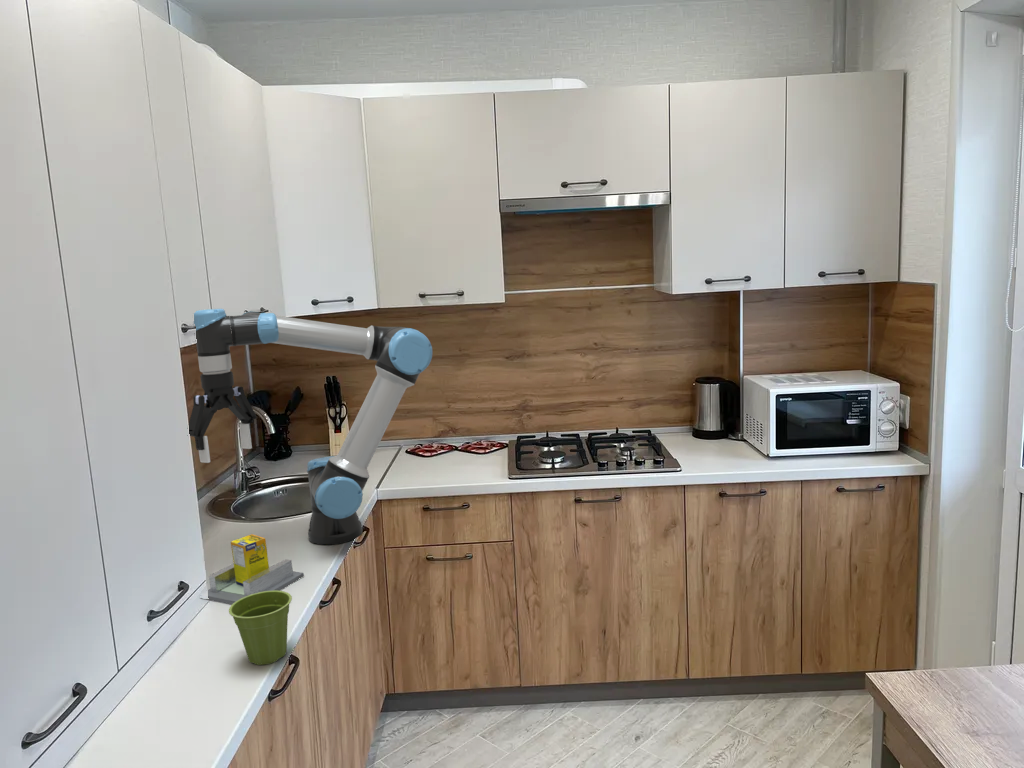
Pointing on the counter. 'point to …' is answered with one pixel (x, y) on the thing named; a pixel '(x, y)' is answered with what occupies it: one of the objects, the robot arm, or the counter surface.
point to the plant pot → (263, 624)
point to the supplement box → (249, 557)
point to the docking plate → (250, 582)
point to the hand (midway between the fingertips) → (226, 455)
